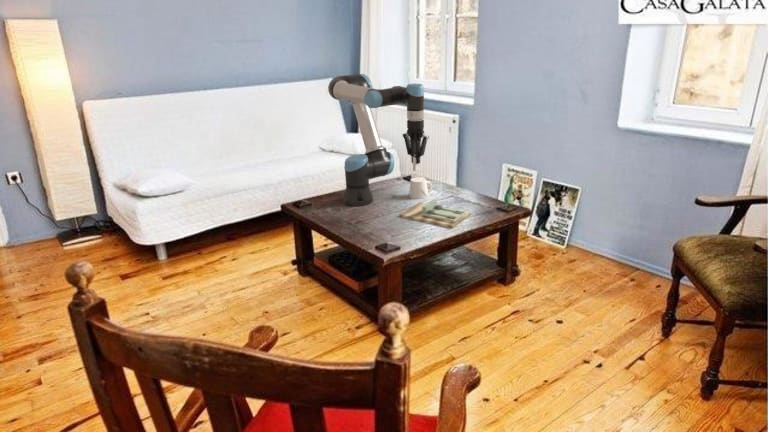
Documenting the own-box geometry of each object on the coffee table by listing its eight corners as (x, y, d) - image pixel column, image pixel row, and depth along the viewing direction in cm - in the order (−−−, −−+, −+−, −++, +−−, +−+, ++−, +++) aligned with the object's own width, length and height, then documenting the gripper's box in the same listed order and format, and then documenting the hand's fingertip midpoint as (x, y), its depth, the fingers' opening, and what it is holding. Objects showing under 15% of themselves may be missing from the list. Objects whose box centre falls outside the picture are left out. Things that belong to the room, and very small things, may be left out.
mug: (411, 182, 252) (407, 178, 259) (412, 200, 256) (407, 195, 263) (434, 180, 255) (429, 175, 262) (434, 197, 258) (429, 192, 266)
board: (399, 216, 236) (399, 209, 234) (419, 204, 249) (419, 197, 248) (452, 228, 220) (452, 220, 219) (471, 215, 234) (471, 207, 232)
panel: (421, 215, 232) (421, 207, 230) (434, 207, 241) (434, 199, 239) (453, 222, 222) (454, 214, 221) (466, 213, 231) (466, 205, 230)
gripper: (398, 119, 225) (399, 170, 234) (423, 122, 218) (423, 174, 227) (407, 116, 231) (408, 166, 240) (432, 119, 224) (432, 170, 232)
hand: (415, 170), depth 233 cm, fingers closed
